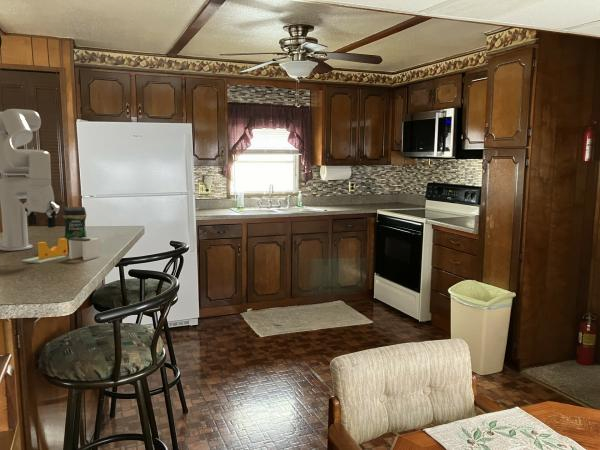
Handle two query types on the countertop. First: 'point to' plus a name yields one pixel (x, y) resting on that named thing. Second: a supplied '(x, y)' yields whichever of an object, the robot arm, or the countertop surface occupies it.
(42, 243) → the orange branched block
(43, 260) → the mat
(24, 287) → the countertop surface
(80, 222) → the coffee jar
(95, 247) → the hollow square frame
